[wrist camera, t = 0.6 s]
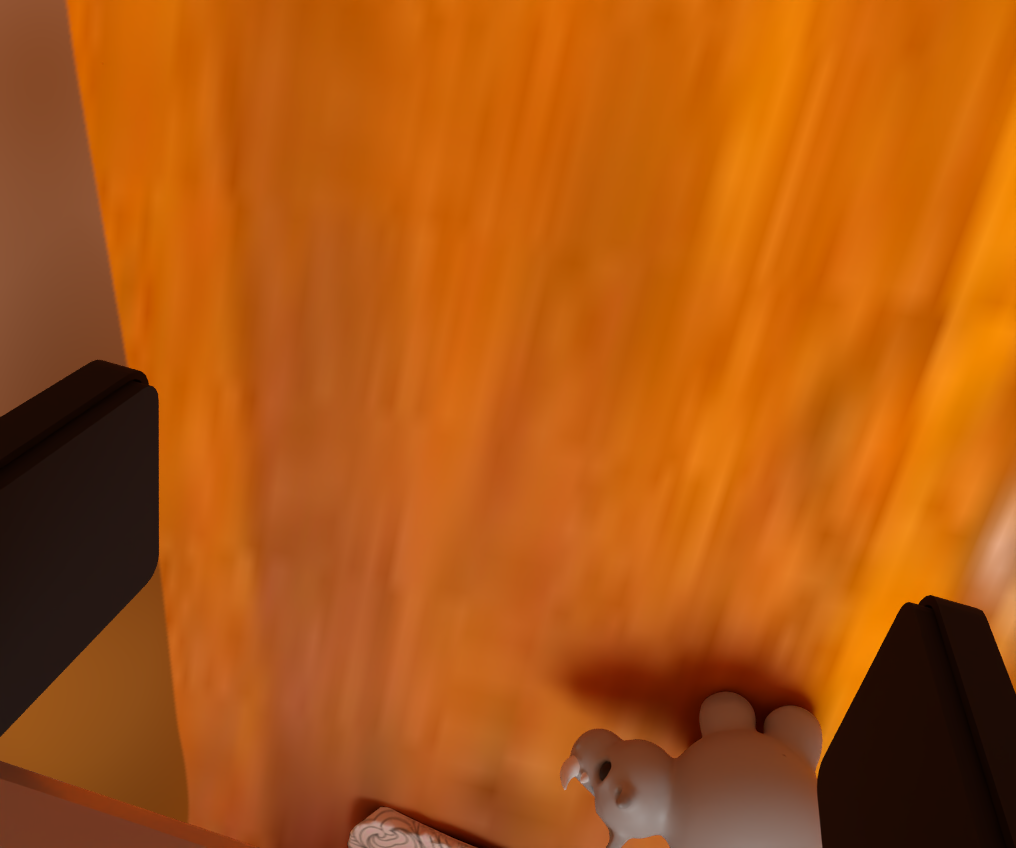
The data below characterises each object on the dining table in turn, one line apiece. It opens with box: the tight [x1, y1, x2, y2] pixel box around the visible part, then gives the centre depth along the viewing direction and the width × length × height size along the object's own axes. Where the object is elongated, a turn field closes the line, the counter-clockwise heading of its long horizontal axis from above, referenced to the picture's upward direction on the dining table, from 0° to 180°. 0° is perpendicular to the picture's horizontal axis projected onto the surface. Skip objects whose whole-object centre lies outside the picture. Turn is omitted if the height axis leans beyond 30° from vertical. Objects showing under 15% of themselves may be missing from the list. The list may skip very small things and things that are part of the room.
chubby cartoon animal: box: [560, 692, 822, 848], centre depth 43 cm, size 8×12×9 cm, turn 84°
